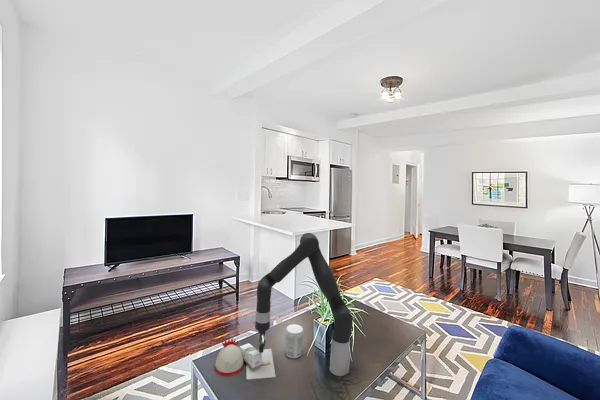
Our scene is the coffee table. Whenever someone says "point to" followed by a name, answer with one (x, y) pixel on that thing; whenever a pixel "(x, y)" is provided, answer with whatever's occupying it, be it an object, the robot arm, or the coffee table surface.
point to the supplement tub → (294, 341)
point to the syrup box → (251, 355)
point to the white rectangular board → (262, 367)
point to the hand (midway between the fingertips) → (261, 351)
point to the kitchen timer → (229, 359)
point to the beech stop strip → (265, 363)
